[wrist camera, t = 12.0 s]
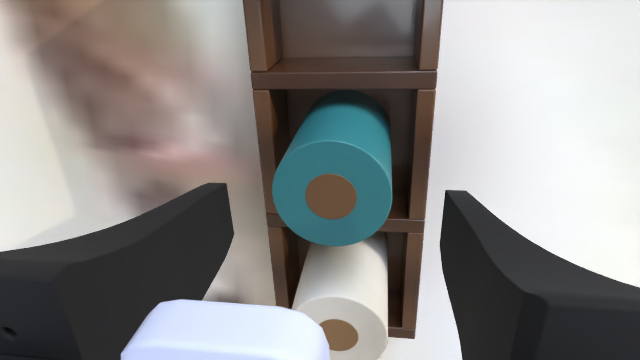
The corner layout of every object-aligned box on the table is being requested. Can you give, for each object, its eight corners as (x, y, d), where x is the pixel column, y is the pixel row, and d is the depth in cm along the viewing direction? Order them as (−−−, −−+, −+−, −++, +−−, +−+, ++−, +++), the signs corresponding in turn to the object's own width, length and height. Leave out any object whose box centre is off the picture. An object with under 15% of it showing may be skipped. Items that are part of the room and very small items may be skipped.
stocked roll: (386, 277, 24) (386, 375, 18) (313, 272, 24) (290, 366, 19) (388, 213, 22) (389, 300, 16) (309, 210, 23) (283, 293, 17)
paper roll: (389, 172, 21) (390, 250, 15) (306, 170, 22) (276, 244, 16) (392, 89, 19) (395, 141, 13) (301, 89, 20) (266, 139, 14)
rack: (411, 293, 25) (414, 339, 22) (291, 285, 26) (278, 328, 23) (442, -125, 16) (456, -147, 13) (256, -111, 17) (227, -129, 14)
